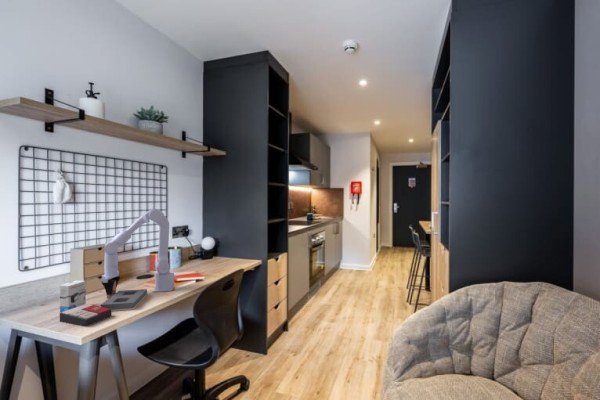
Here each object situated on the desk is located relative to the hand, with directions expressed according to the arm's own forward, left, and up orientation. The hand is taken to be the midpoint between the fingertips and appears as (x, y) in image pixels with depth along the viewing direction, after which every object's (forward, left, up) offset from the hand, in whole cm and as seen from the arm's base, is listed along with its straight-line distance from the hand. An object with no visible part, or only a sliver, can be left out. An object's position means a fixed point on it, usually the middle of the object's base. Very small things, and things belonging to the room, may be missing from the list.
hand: (111, 293), depth 148 cm
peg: (0, 0, -2) cm, 2 cm away
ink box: (+10, +14, -2) cm, 17 cm away
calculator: (-1, +27, -3) cm, 27 cm away
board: (-10, +10, -2) cm, 14 cm away
